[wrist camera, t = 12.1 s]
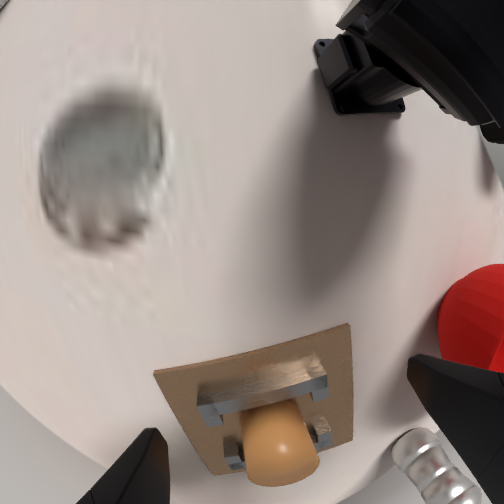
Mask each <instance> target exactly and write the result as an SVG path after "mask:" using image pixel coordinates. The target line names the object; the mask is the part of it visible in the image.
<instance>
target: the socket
mask: <svg viewBox="0 0 504 504" xmlns="http://www.w3.org/2000/svg"><path fill="white" fill-rule="evenodd" d="M153 375H154V377H155V379H156V381H157V383H158V385H159V387H160V389H161V390H162V392H163V394H164V396H165V398H166V400H167V402H168V404H169V405H170V407H171V409H172V411H173V413H174V414H175V416H176V418H177V420H178V421H179V423H180V425H181V426H182V428H183V430H184V432H185V433H186V435H187V436H188V438H189V440H190V441H191V443H192V444H193V446H194V448H195V449H196V451H197V452H198V454H199V455H200V457H201V458H202V460H203V461H204V463H205V464H206V466H207V467H208V469H209V470H210V471H211V473H212V474H213V475H220V474H227V473H234V472H240V471H246V470H247V469H246V463H245V456H244V449H243V442H242V434H241V427H240V420H241V417H242V416H243V414H244V413H245V412H246V411H247V410H248V409H251V408H255V407H260V406H264V405H268V404H272V403H276V402H279V401H283V400H285V401H289V402H291V403H293V404H295V405H296V406H297V407H298V408H299V410H300V412H301V414H302V417H303V419H304V422H305V424H306V427H307V429H308V432H309V435H310V437H311V440H312V442H313V445H314V447H315V450H316V452H317V453H318V452H321V451H324V450H327V449H330V448H333V447H336V446H339V445H341V444H344V443H347V442H349V441H352V440H353V370H352V347H351V331H350V325H349V324H348V323H346V324H343V325H340V326H337V327H334V328H331V329H328V330H325V331H322V332H318V333H315V334H312V335H309V336H305V337H302V338H299V339H295V340H292V341H288V342H285V343H281V344H277V345H274V346H270V347H266V348H262V349H258V350H254V351H250V352H246V353H242V354H238V355H233V356H229V357H225V358H220V359H215V360H211V361H206V362H201V363H196V364H190V365H185V366H179V367H174V368H168V369H161V370H155V371H154V373H153Z"/></svg>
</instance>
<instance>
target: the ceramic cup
mask: <svg viewBox="0 0 504 504" xmlns="http://www.w3.org/2000/svg"><path fill="white" fill-rule="evenodd" d="M437 327H438V340H439V346H440V352H441V356H442V359H444V360H448V361H452V362H456V363H460V364H465V365H469V366H473V367H478V368H482V369H487V370H492V371H496V372H501V373H504V264H493V265H488V266H485V267H482V268H479V269H477V270H475V271H473V272H471V273H469V274H468V275H467V276H465V277H464V278H462V279H460V280H458V281H457V282H456V283H455V284H454V285H452V287H451V288H450V289H449V290H448V292H447V293H446V295H445V297H444V299H443V301H442V303H441V306H440V309H439V312H438V318H437Z"/></svg>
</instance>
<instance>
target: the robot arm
mask: <svg viewBox="0 0 504 504" xmlns="http://www.w3.org/2000/svg"><path fill="white" fill-rule="evenodd" d="M336 26H337V27H339V28H340V29H342V30H346V31H345V32H344V33H343V34H338V36H337V37H336V38H335V39H318V40H317V41H316V42H315V44H314V46H315V49H316V52H317V55H318V59H317V61H318V64H319V67H320V70H321V74H322V77H323V80H324V83H325V87H326V88H327V89H328V90H329V93H330V96H331V100H332V103H333V107H334V110H335V112H336V113H337V114H338V115H341V116H344V115H359V114H386V113H402V112H404V111H405V105H404V101H403V98H402V97H404V96H407V95H409V94H412V93H414V92H417V91H419V90H421V89H423V90H424V91H425V92H426V93H427V94H428V95H429V96H430V97H431V98H432V99H433V100H434V101H435V102H436V103H437V104H438V105H439V108H440V109H441V110H442V111H443V112H444V113H446V114H452V115H453V116H454V117H455V118H457V119H460V120H462V121H467V122H468V124H469V125H471V126H474V125H484V124H488V123H491V122H494V121H495V122H496V123H497V125H498V126H499V127H503V126H504V0H352V1H351V3H350V4H349V6H348V7H347V9H346V10H345V12H344V13H343V15H342V16H341V18H340V19H339V21H338V22H337V24H336ZM319 44H322V45H323V47H322V46H320V45H319ZM398 105H399V106H400V109H399V107H398ZM339 106H341V107H343V111H341V110H340V108H339ZM407 378H408V381H409V382H410V384H411V386H412V387H413V389H414V391H415V392H416V394H417V396H418V397H419V399H420V401H421V403H422V404H423V406H424V408H425V409H426V411H427V412H428V413H429V415H430V416H431V417H432V419H433V420H434V421H435V423H436V424H437V425H438V427H439V428H440V429H441V431H442V432H443V433H444V434H445V436H446V437H447V439H448V440H449V442H450V443H451V444H452V446H453V447H454V448H455V450H456V451H457V453H458V454H459V455H460V456H461V458H462V459H463V461H464V462H465V464H466V465H467V467H468V468H469V469H470V471H471V472H472V474H473V475H474V477H475V478H476V480H477V482H478V483H479V484H480V486H481V487H482V489H483V490H484V492H485V493H486V495H487V496H488V498H489V499H490V501H491V503H492V504H504V373H501V372H496V371H492V370H487V369H482V368H478V367H473V366H469V365H465V364H460V363H456V362H452V361H448V360H444V359H440V358H436V357H432V356H428V355H424V354H420V353H418V354H415V355H413V356H411V357H410V358H409V360H408V368H407ZM76 504H170V471H169V458H168V445H167V442H166V440H165V439H164V438H163V436H162V435H161V433H160V432H159V430H158V429H157V428H145V429H144V430H143V431H142V432H141V433H140V435H139V436H138V437H137V438H136V439H135V440H134V441H133V442H132V444H131V445H130V446H129V447H128V448H127V449H126V450H125V452H124V453H123V454H122V455H121V456H120V457H119V458H118V459H117V460H116V462H115V463H114V464H113V465H112V466H111V467H110V468H109V469H108V470H107V472H106V473H105V474H104V475H103V476H102V477H101V478H100V479H99V480H98V481H97V482H96V483H95V485H94V486H93V487H92V488H91V490H89V491H88V492H87V493H86V494H85V495H84V496H83V497H82V498H81V499H80V500H79V501H78V502H77V503H76Z"/></svg>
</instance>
